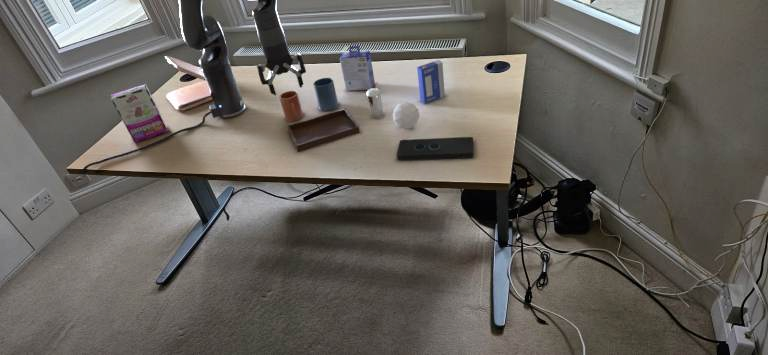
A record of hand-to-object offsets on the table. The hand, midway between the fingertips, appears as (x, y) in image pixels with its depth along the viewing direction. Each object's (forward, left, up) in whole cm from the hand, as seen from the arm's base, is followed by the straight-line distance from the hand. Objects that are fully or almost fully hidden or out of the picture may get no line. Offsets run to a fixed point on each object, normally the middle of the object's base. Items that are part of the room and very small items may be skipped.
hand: (287, 90), depth 150 cm
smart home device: (+30, -44, -10) cm, 55 cm away
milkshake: (+24, -16, -10) cm, 30 cm away
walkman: (+43, -16, -10) cm, 47 cm away
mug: (0, -1, -10) cm, 10 cm away
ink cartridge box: (+26, +8, -10) cm, 29 cm away
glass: (+12, 0, -10) cm, 15 cm away
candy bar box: (-47, +18, -10) cm, 52 cm away
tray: (+6, -16, -10) cm, 19 cm away
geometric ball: (+29, -28, -10) cm, 41 cm away
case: (-30, +42, -10) cm, 53 cm away
